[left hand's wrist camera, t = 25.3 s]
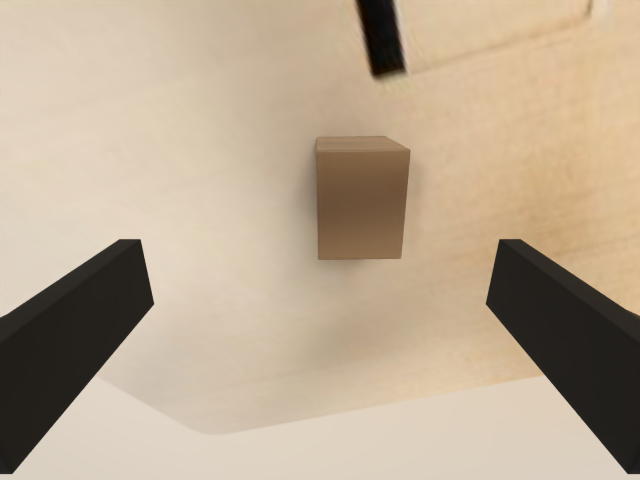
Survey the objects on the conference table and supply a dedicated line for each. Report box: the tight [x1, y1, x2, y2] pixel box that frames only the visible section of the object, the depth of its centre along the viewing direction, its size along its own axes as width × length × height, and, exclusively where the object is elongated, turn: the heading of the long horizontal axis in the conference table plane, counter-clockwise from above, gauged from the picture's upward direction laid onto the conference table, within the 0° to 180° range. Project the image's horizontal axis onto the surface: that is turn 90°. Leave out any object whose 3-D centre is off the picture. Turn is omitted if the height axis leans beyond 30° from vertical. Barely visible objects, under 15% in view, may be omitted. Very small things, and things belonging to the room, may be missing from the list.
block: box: [316, 136, 410, 260], centre depth 24 cm, size 7×5×8 cm
